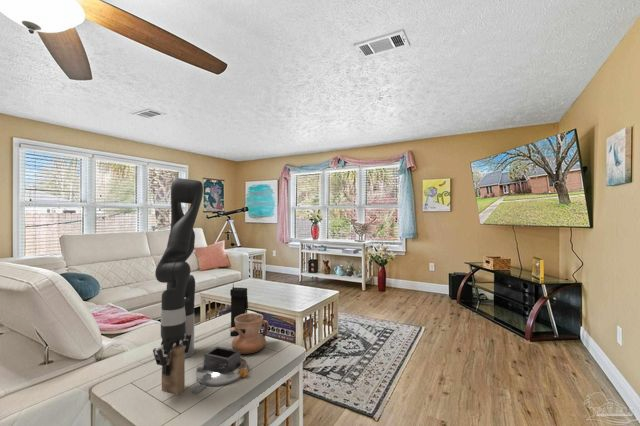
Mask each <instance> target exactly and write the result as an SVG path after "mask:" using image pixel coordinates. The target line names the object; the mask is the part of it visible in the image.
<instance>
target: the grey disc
mask: <svg viewBox="0 0 640 426" xmlns="http://www.w3.org/2000/svg"><path fill="white" fill-rule="evenodd" d="M241 355H242V354H241V351H236V350H233V349H230V348H227V347H222V346H216V347H214V348H212V349H211V350H209V351H208V352H206V353H204V354H203V362H202V364H198V365H197V367H196V371H195V372H196V373H195V374H196V375H195V376H196V377H195V378H196V381H197V382H198V383H199V384H200V385H201V384H202V385H206V386H208V387H219V386H226V385H229V384H232V383H235V382H236V381H239V380H240V379H242V378H245V377H247V375H248V361H246V360H245V359H244V358H242V357H241Z"/></svg>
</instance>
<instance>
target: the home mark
mask: <svg viewBox="0 0 640 426" xmlns="http://www.w3.org/2000/svg"><path fill="white" fill-rule="evenodd" d="M206 388H207V385H203V384H201V383H200V384H199V385H198V386H196V387H195V388H193V389H192V391H191V392H192V393H193V394H199V393H201V392H202V391H203V390H205V389H206Z"/></svg>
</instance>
